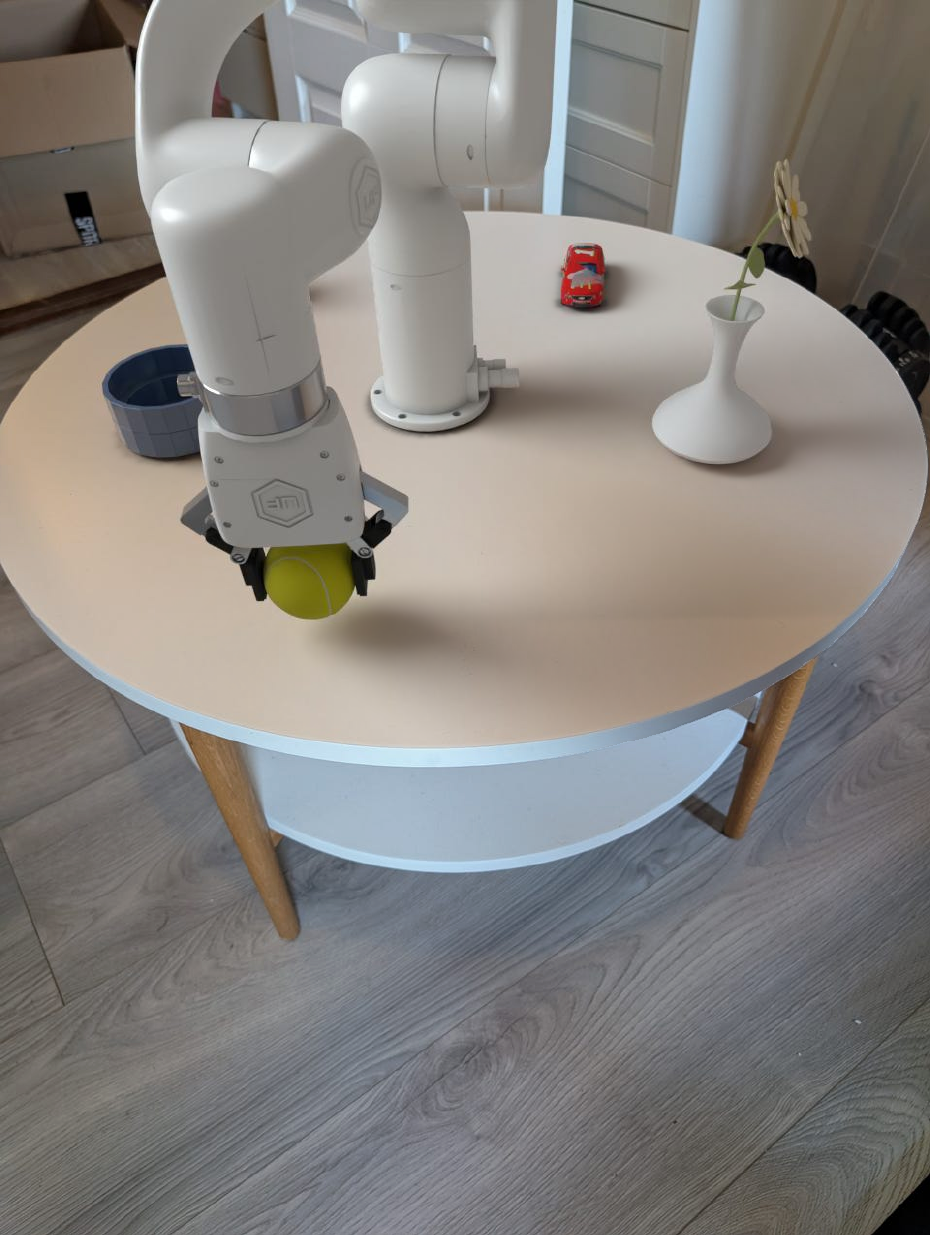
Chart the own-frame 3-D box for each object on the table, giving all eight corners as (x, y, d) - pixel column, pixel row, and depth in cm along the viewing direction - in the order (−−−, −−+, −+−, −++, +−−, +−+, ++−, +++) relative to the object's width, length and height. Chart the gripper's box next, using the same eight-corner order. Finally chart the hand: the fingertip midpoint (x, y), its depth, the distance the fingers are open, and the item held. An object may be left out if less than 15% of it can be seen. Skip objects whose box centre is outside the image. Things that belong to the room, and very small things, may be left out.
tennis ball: (343, 644, 66) (329, 580, 61) (259, 628, 68) (238, 564, 63) (374, 580, 71) (363, 515, 66) (295, 566, 72) (278, 501, 67)
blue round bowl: (248, 392, 95) (235, 341, 91) (230, 458, 87) (215, 406, 82) (136, 397, 95) (119, 346, 91) (108, 464, 87) (87, 412, 82)
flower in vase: (728, 491, 80) (793, 213, 62) (626, 444, 86) (659, 177, 68) (797, 428, 87) (874, 160, 69) (698, 389, 92) (745, 131, 74)
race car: (602, 314, 105) (605, 282, 102) (557, 312, 105) (558, 280, 102) (606, 264, 113) (609, 233, 111) (565, 263, 114) (566, 232, 111)
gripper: (112, 431, 52) (193, 627, 65) (403, 416, 52) (425, 616, 65) (140, 362, 57) (210, 557, 70) (405, 348, 57) (425, 547, 70)
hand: (313, 584), depth 68 cm, fingers closed on tennis ball, 7 cm apart
